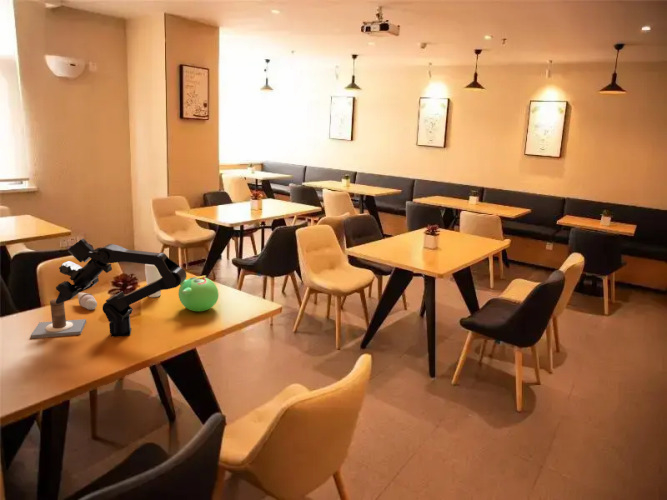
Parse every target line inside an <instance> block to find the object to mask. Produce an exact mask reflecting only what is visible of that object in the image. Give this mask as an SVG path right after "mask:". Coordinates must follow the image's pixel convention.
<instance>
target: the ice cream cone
mask: <svg viewBox="0 0 667 500" xmlns="http://www.w3.org/2000/svg"><path fill="white" fill-rule="evenodd" d="M77 299H78V304H79V306H80V307H82V308H85V309H86V310H89V311H92V310H94V309H96V308H97V306H98V301H97V300H96V298H95V297H94V295H93V294H92V293H88V292H87V293H86V292H79V293H78V294H77Z"/></svg>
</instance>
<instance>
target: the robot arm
mask: <svg viewBox="0 0 667 500" xmlns="http://www.w3.org/2000/svg"><path fill="white" fill-rule="evenodd" d="M67 252H68V253H69V254H70V255H72V257H73V258H74V259H75V260H76V261H78V263H86V262H87V263H86V264H85V265H84V266H81V265H80V264H77V263H75V262H73V261H71V260H68V261H65V262H63V263H62V264H61V266H59V268H58V269H59V273H61V274H63V275H65V276H69V279H70V281H72V282H73V284H72V283H71V282H70V281H68V280H67V281H66V280H64V281H62V282H61V283H59V284H58V285H57V286H55V289H56V291H58V292H59V293H58V295H57V296H56V297H57V298H56V299H57V300H56V303H57V304H59V303H62V302H64V303H65V302H66V301H70V300H73V298H75V297H76V296H78V293H79V292H80V293H83V292H84V291H86V290H88V289H90V288H92V287H94V286H95V285H97V284H98V282H99V281H100V280H99V275H101V274H102V272H105V273H106V274H108V273H109V272H111V271H112V270H113V268H112V264H115V263H123V262H125V263H131V264H132V263H134V264H144V265H145V264H150V265H155V266H156V268H157V269H158V271H159V273H160V275H161V278H160V279H158V280H156V281H154V282H152V283H150V284H148V285H147V284H146V285H144V286H142V287H139V288H137V289H135V290H133V291H131V292H129V293H124V290H122V291H120V292H119V293H116V294H113V295H112V296H109V298H107V299H106V300H105V302H104V303H103V304H102V311H103V313H104V315H105V317H106V318H107V319H106V320H107V321H108V322H109V324H108V325H109V334H110V337H111V338H117V337H128V336H131V332H132V326H131V315H132V312H133V307H131V306H130V305H132V304H134V303H137V302H139V301H141V300H144V299H145V298H147V297H149V296H150V295H152V294H154V293H156V292H158V291H163V290H170V289H175V288H177V287H180V286H181V285H180V284H181V283H182V282H183V281H184V280H187V272H186V270H185V269H183V268H182V267H180V266H179V265H178V263H177V262H176V261H174V260H173V259H171V258H169V257H168V255H167V254H166V253H165V252H164V253H163V252H151V251H143V250H133V249H128V248H125V247H123V246H122V245H117V244H114V243H109V244H108V243H107V244H105V245H104V246H102V247H96V248H94V247H93V246H92V245H90V244H89V243H88V241H87V240H86V239H85V238H81V239H79V240H78V241H76V243H74V244H73V245H71V246H70V247H69V248H68V250H67Z"/></svg>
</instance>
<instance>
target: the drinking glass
mask: <svg viewBox="0 0 667 500" xmlns="http://www.w3.org/2000/svg"><path fill="white" fill-rule="evenodd" d="M144 273H145V280H146V285H148V284H150V283H152V282H154V281H156V280H158V279H160V278H162V276H161V275H160V273H159V271H158V269H157V268H156V266H155V265H150V264H144ZM161 291H162V290H161ZM161 291H158V292H156V293H154V294H152V295H150V296H148V297H149V298H158V297H160V296H161V295H162V293H161Z"/></svg>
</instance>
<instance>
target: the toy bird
mask: <svg viewBox="0 0 667 500" xmlns="http://www.w3.org/2000/svg"><path fill="white" fill-rule="evenodd" d="M178 298H179V301H180V303H181V304H182V306H183V307H184V308H186V309H187V310H189V311H191V312H192V311H193V312H205V311H207V310H209V309H211V308H212V307H214V306H215V305H216V304H217V302H218V299H219V289H218V287H217V285H216V284H215V282H213V281H212V280H211V279H209V278H208V277H207V275H201V276H193V277H189V278H186V279H185V280H184V281H183V282H182V283H181V284H180V285H179V289H178Z"/></svg>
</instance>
